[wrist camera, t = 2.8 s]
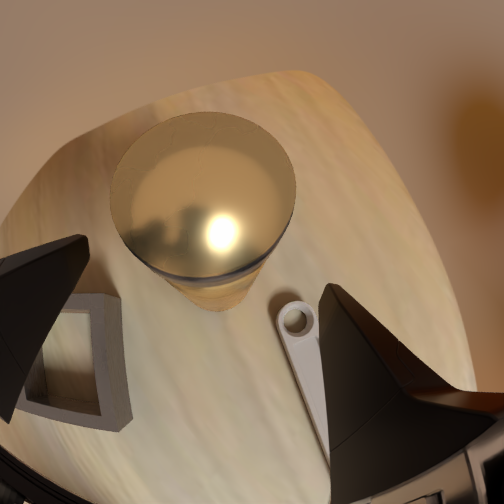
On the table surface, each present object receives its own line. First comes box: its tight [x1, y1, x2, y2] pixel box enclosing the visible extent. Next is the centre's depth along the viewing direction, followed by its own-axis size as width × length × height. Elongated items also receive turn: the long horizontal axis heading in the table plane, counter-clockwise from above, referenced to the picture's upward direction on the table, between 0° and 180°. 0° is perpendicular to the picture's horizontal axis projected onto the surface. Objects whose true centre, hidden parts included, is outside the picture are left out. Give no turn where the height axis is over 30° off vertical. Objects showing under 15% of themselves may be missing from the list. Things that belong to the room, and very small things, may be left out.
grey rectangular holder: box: [15, 293, 133, 432], centre depth 14 cm, size 13×9×3 cm
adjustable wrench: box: [276, 301, 371, 504], centre depth 15 cm, size 25×6×2 cm, turn 14°
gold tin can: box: [110, 112, 296, 311], centre depth 12 cm, size 5×5×12 cm
